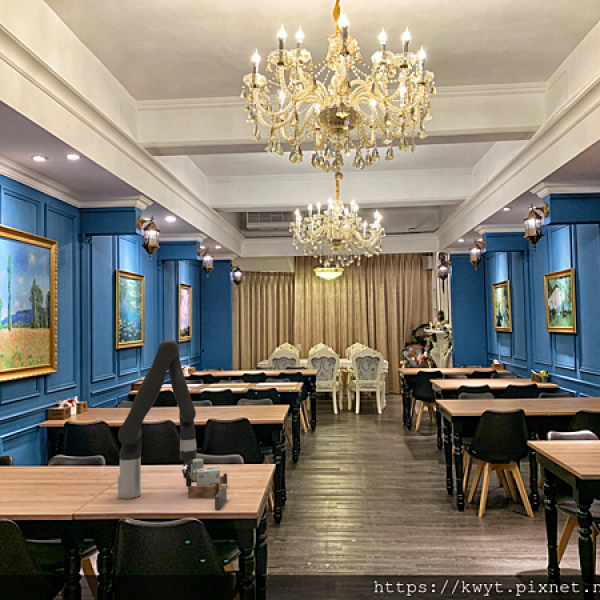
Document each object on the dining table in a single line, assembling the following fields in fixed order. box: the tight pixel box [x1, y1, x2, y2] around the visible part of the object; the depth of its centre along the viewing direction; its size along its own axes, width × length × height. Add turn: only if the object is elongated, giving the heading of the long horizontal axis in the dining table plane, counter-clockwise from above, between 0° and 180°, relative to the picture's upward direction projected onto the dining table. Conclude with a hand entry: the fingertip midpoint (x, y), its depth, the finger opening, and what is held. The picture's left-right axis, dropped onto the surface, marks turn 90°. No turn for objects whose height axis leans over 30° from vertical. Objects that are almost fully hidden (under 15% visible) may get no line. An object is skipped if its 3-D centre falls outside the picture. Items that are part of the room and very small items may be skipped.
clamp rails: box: [187, 473, 228, 499], centre depth 252 cm, size 14×18×6 cm
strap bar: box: [214, 484, 228, 510], centre depth 234 cm, size 2×14×6 cm, turn 176°
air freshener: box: [191, 458, 205, 482], centre depth 275 cm, size 11×8×10 cm
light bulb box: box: [195, 466, 221, 490], centre depth 252 cm, size 11×7×11 cm, turn 108°
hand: (188, 486), depth 253 cm, fingers closed
